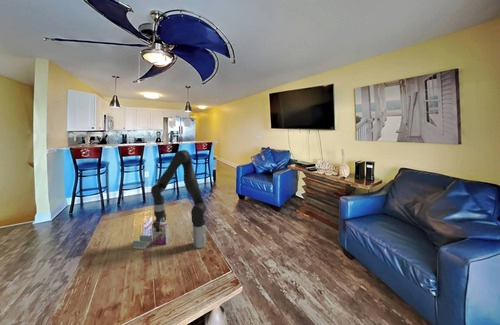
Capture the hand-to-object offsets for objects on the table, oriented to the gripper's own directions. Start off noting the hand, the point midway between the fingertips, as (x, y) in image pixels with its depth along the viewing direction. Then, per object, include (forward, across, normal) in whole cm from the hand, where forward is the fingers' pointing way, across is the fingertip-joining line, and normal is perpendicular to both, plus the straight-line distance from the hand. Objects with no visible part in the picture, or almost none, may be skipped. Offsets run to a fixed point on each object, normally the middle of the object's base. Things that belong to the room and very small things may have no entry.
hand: (160, 229), depth 147 cm
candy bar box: (+12, 0, 0) cm, 12 cm away
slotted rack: (+11, -4, +12) cm, 17 cm away
